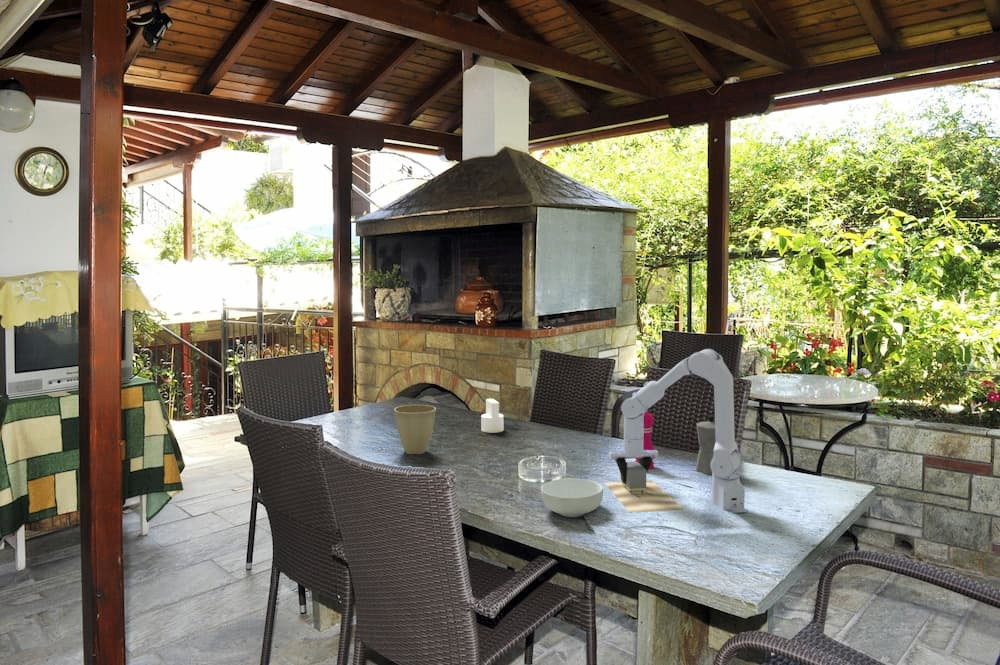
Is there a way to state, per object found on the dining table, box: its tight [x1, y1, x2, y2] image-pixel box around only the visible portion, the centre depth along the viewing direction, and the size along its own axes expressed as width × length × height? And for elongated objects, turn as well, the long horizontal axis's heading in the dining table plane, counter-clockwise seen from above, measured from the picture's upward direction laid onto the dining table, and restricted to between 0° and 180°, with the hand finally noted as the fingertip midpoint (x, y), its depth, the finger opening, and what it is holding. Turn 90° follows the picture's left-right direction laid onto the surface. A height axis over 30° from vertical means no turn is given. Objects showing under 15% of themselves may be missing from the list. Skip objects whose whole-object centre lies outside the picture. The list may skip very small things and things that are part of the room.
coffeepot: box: [695, 415, 716, 475], centre depth 230 cm, size 15×9×18 cm, turn 14°
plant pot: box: [393, 404, 437, 455], centre depth 256 cm, size 15×15×16 cm
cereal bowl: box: [540, 477, 604, 518], centre depth 195 cm, size 17×17×7 cm
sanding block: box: [620, 461, 648, 491], centre depth 212 cm, size 9×5×6 cm, turn 7°
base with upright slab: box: [480, 398, 505, 434], centre depth 289 cm, size 9×9×12 cm
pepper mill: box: [634, 409, 655, 470], centre depth 235 cm, size 7×7×20 cm
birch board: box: [604, 480, 684, 513], centre depth 205 cm, size 26×15×1 cm, turn 7°
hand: (633, 482), depth 212 cm, fingers closed on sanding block, 5 cm apart
